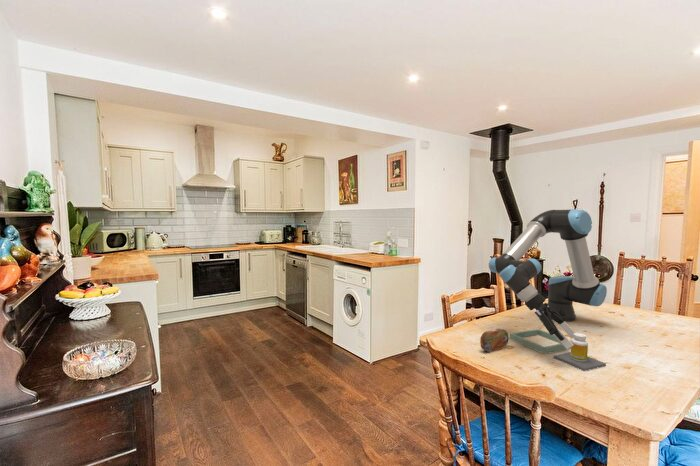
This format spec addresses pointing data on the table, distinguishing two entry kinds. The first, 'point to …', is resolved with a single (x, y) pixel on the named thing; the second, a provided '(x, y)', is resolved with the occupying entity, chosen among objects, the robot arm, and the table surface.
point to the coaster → (583, 366)
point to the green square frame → (548, 349)
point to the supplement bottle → (579, 347)
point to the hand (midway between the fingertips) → (572, 341)
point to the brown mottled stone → (494, 340)
